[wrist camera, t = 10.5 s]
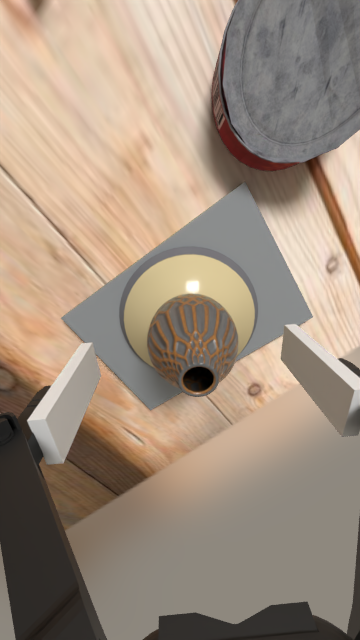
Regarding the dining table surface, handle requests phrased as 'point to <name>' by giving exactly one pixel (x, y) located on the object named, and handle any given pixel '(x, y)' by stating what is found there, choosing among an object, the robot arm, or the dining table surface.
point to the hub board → (193, 291)
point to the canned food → (288, 80)
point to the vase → (192, 343)
